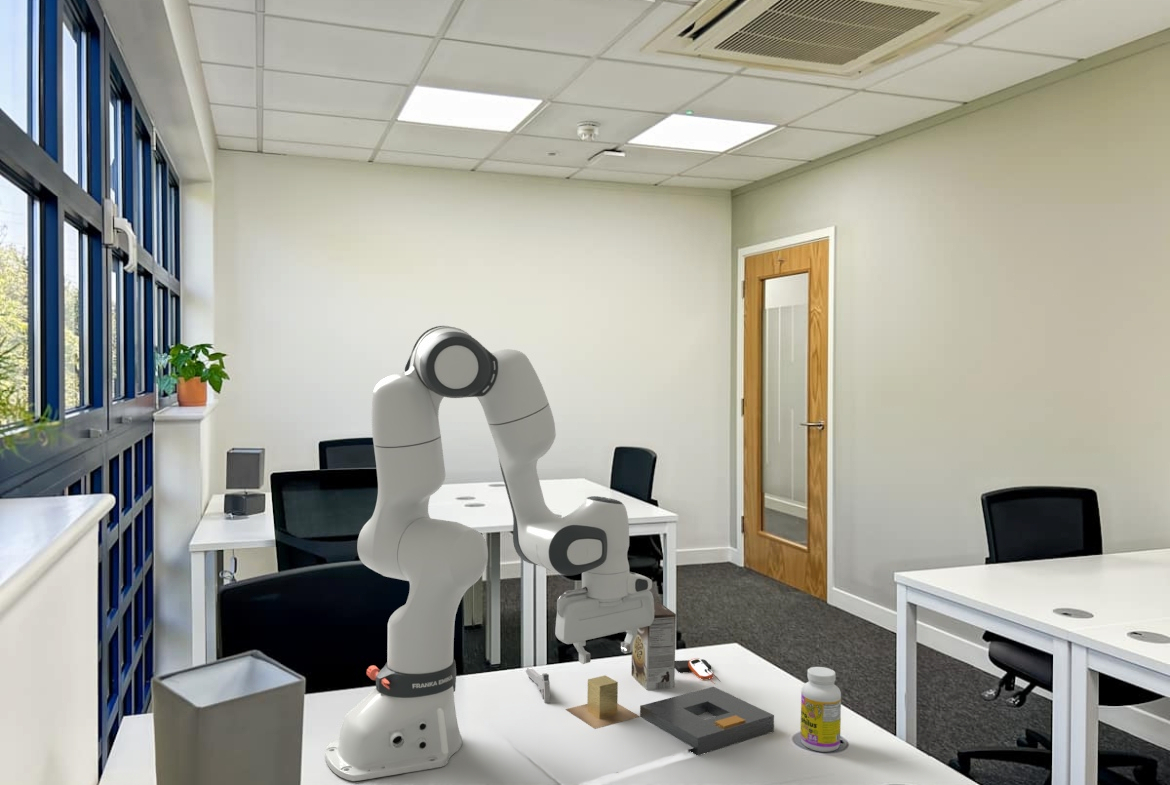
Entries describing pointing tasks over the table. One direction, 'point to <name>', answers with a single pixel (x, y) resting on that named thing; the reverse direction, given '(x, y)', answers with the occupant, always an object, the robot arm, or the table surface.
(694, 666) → the multimeter
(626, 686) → the table surface
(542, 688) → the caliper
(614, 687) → the brass peg
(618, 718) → the copper pad
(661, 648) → the coffee box
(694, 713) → the hole plate
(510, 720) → the table surface
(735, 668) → the table surface
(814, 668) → the supplement bottle
